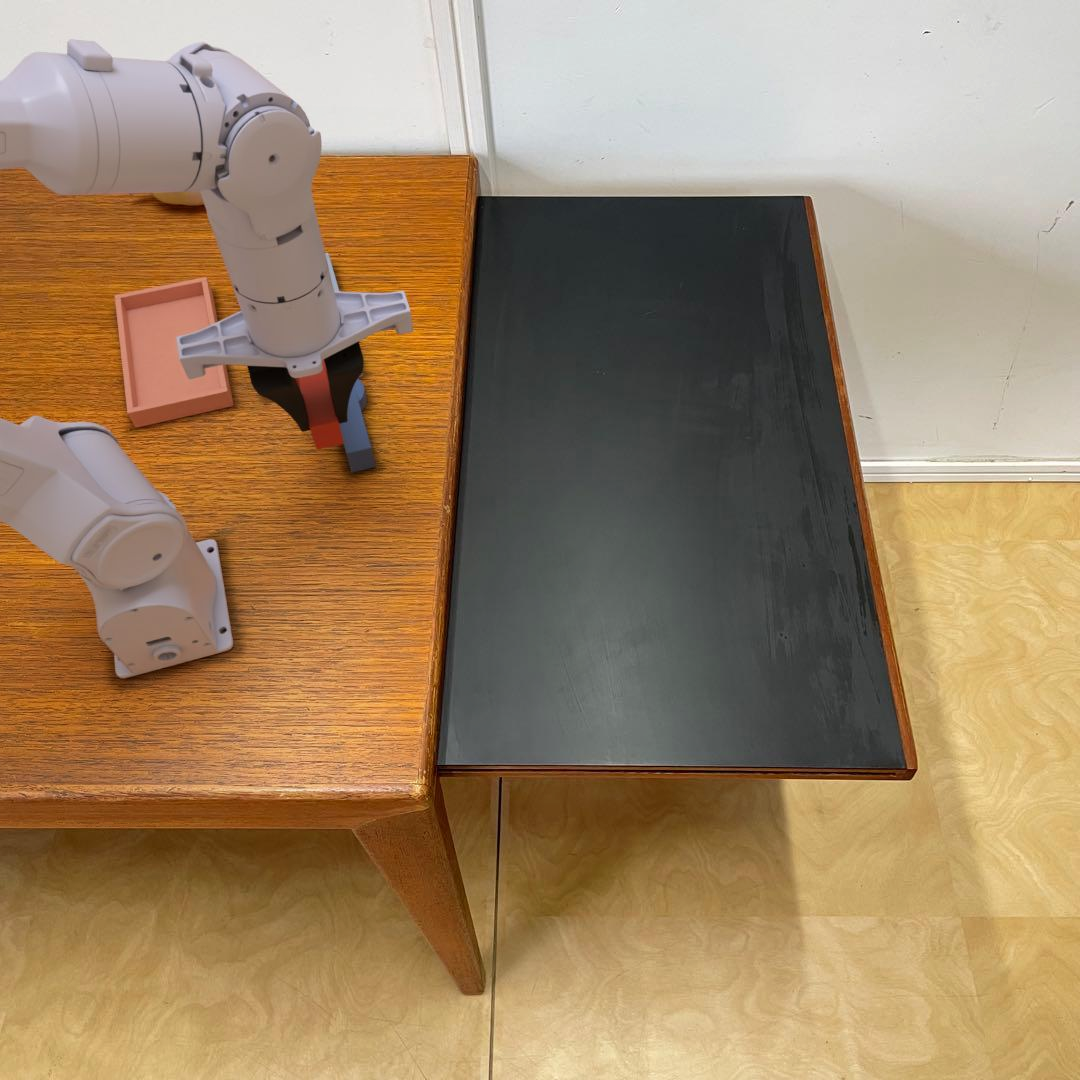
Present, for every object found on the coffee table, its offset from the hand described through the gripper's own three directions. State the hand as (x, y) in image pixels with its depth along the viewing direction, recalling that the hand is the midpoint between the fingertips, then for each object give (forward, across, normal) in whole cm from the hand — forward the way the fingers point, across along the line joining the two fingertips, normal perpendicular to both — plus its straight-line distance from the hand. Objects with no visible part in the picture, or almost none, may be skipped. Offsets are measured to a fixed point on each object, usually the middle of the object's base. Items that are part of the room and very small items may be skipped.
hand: (322, 416), depth 66 cm
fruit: (+9, -8, +38) cm, 40 cm away
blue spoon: (+8, +2, +6) cm, 10 cm away
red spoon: (+1, 0, +3) cm, 3 cm away
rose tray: (+8, -11, +17) cm, 22 cm away
